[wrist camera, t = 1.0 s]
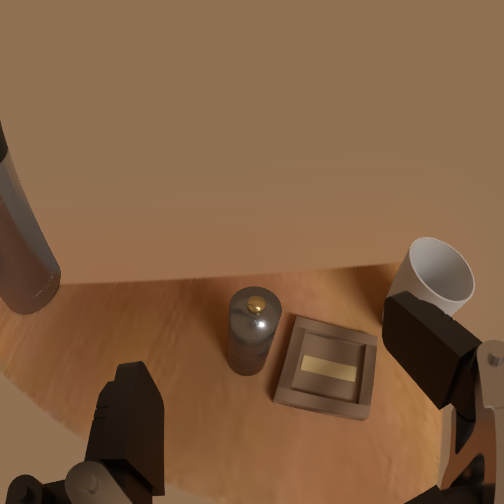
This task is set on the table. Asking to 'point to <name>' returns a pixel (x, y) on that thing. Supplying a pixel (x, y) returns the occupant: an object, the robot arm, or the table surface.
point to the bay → (328, 370)
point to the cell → (251, 329)
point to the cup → (435, 275)
